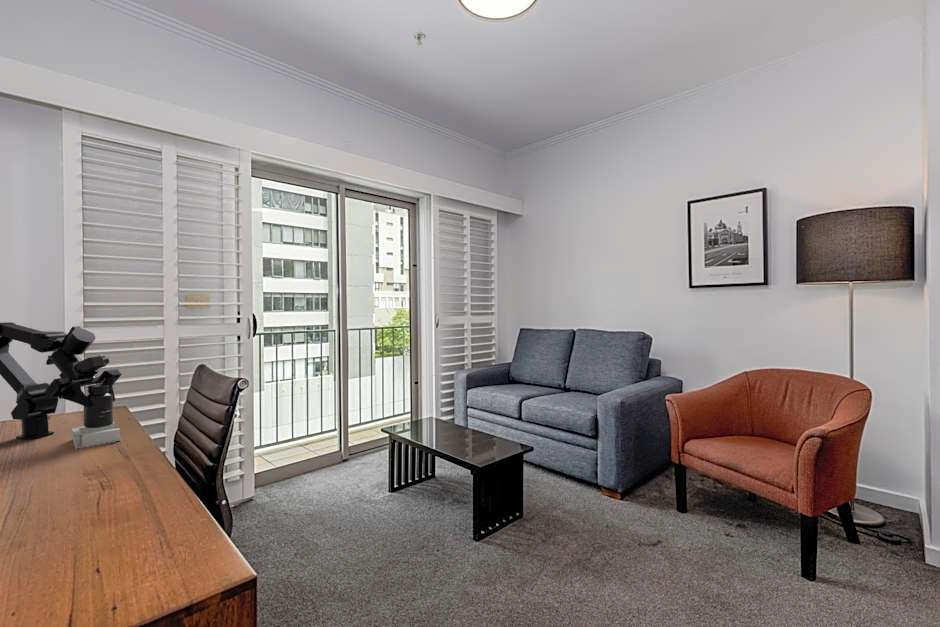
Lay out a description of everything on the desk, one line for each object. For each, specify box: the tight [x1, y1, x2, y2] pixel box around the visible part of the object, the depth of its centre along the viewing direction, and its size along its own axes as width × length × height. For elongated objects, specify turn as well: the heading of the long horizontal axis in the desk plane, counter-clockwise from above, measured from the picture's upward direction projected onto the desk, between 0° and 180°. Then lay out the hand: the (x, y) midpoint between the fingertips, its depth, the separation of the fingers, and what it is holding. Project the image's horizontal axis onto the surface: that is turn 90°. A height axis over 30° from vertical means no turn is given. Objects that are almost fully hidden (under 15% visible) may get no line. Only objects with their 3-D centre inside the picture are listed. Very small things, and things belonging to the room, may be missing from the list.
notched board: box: [71, 421, 121, 450], centre depth 135 cm, size 10×12×4 cm
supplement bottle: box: [83, 384, 114, 428], centre depth 135 cm, size 7×7×12 cm
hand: (102, 403), depth 135 cm, fingers closed on supplement bottle, 7 cm apart
